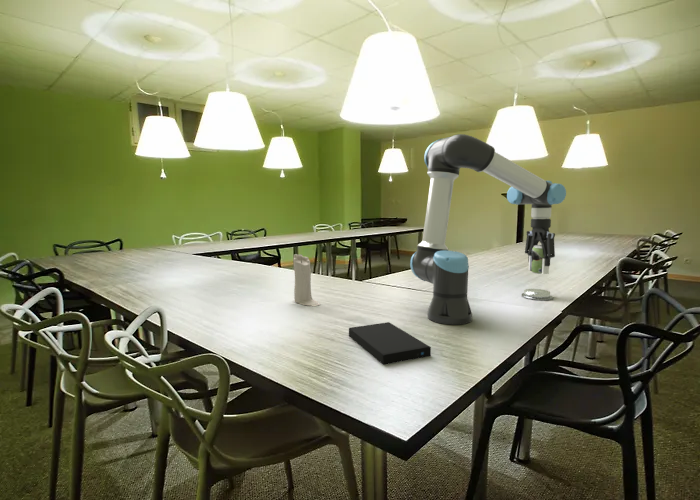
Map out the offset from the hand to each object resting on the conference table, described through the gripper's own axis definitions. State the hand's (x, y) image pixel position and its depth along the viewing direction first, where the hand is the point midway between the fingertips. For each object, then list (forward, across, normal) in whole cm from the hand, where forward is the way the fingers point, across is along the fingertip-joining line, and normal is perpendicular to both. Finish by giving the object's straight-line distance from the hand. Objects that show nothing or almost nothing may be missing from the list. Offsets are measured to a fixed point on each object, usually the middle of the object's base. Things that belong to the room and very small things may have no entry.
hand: (538, 272), depth 162 cm
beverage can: (+1, 0, 0) cm, 1 cm away
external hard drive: (+11, -34, +81) cm, 89 cm away
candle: (+11, +20, +96) cm, 99 cm away
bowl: (+11, 0, 0) cm, 11 cm away
